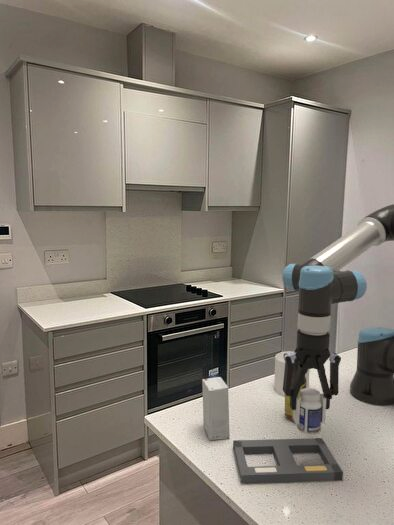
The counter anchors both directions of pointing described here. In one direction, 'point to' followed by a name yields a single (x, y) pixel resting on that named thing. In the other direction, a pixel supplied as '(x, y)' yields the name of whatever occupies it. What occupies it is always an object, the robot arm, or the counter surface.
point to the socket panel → (285, 461)
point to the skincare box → (215, 408)
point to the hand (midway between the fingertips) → (308, 420)
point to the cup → (280, 373)
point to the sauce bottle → (287, 398)
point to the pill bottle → (310, 412)
